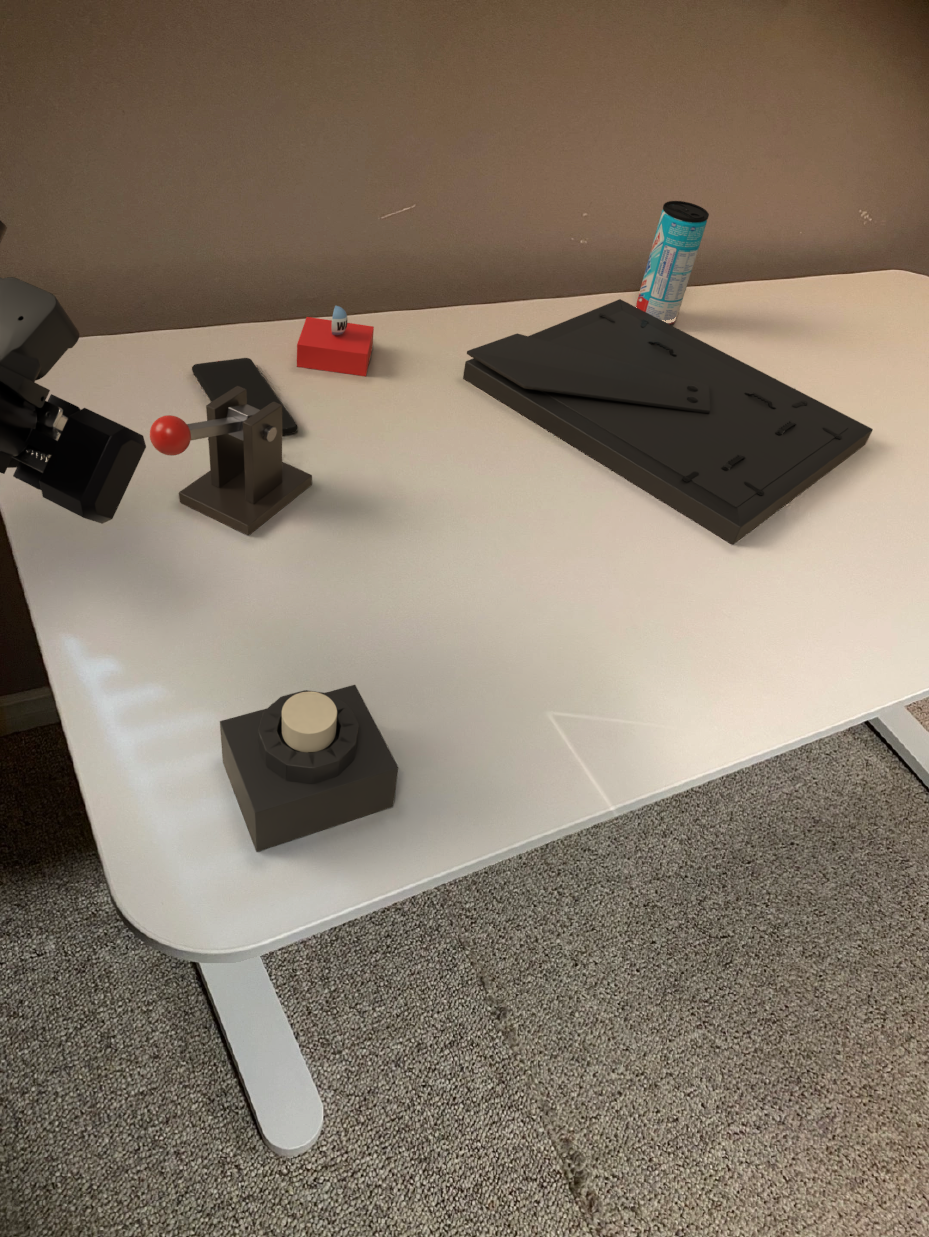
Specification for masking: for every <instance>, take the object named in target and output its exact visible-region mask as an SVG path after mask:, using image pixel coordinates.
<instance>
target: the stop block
mask: <svg viewBox="0 0 929 1237" xmlns="http://www.w3.org/2000/svg"><path fill="white" fill-rule="evenodd" d="M301 692H318V693H321V694H324V695H326V696H327V697H329V698H330V699H331V700H332V701H333V702H334V704H335V706H336V708H337V723H336V735H335V738H334V740H333V741H332V743H331V744H330V745H329V746H328V747H326V748H325V749H323V750H320V751H317V752H311V753H307V752H300V751H297V750H295V749H293V748H291V747H290V746H289V745H288V744H287V743H286V742H285V741H284V739H283V736H282V708H283V706H284V704H285V702H286V701H287V700H288V699H289V698H290V697H292V696H293V695H296V694H298V693H301ZM369 710H370V709H368V706H367V704H366V703H365V701H364V699H363V697H362V695H361V693H360V691H359V690H358V687H357V685H356V684H351V685H348V686H345V687H341V688H337V689H333V690H329V691H326V692H323V691H314V690H308V689H305V690H300V691H296V692H293V693H290V694H285V695H281V696H280V697H278V698H277V699H276V700H275V701H274V702H273V703H271V704H270V705H269V706H268V707H266V708H263V709H260V710H259V709H258V710H256V711H252V712H248V713H244V714H241V715H238V716H237V715H236V716H233V717H230V718H225V719H222V720H220V721H219V729H220V730H219V732H220V743H221V744H220V745H221V756H222V764H223V766H224V770H225V772H226V774H227V777H228V780H229V783H230V786H231V788H232V791H233V793H234V796H235V799H236V801H237V803H238V806H239V809H240V812H241V814H242V818H243V820H244V822H245V826H246V828H247V832H248V833H249V836H250V838H251V841H252V844H253V847H254V850H255V852H256V853H258V852H262V851H265V850H269V849H271V848H274V847H277V846H279V845H283V844H285V843H288V842H289V843H290V842H292V841H294V840H298V839H300V838H303V837H308V836H311V835H312V834H315V833H319V832H321V831H325V830H327V829H331V828H333V827H337V826H340V825H343V824H346V823H348V822H351V821H356V820H358V819H361V818H363V817H367V816H370V815H373V814H376V813H379V812H381V811H385V810H388V809H391V808H394V803H395V796H396V788H397V781H398V774H399V766H398V764H397V762H396V759H394V757H393V754H392V752H391V750H390V749H389V747H388V745H387V743H386V741H385V739H384V737H383V735H382V733H381V731H380V729H379V728H378V725H377V723H376V722H375V720H374V717H373V716H372V714H371V711H369Z"/></svg>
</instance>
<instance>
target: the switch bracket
mask: <svg viewBox="0 0 929 1237" xmlns="http://www.w3.org/2000/svg"><path fill="white" fill-rule="evenodd" d="M240 405H247V398H246V389H244V388H242V387H239V386H237V387H235V388H233V389H232V390H230V391H228V392H227V393H225V394H224V395H222V396H220V397H219V398H217V399H216V400H214V401H212V402H211V401H210V402H209V403H208V404H206V405H205V408H206V410H205V412H206V421H209V420H215V419H221V418H227V412H228V408H229V407H233V406H240ZM207 440H208V452H209V453H208V455H209V470H208V471H207V472H205V473H204V474H203V475H201V476H200V477H199V478H197V479H195V480H194V481H193V482H191V483H190V484H189V485H187V486H186V487H184V488H183V489H181V490H180V491H179V492H178V499H179V503H180V504H182V505H184V506H186V507H188V508H191V509H193V510H195V511H196V512H199V513H201V514H203V515H205V516H207V517H209V518H211V519H213V520H215V521H217V522H219V523H221V524H223V525H225V526H227V527H229V528H232V529H233V530H235V531H238V532H239V533H242V534H243V535H246V536H250V535H251V534H252V533H254V532H255V531H257V530H258V529H259V528H260V527H262V525H264V524H265V523H266V522H268V521H269V520H270V519H271V518H272V517H274V516H275V515H277V514H278V513H279V512H280V511H281V510H283V509H284V508H285V507H286V506H287V505H289V504H290V503H291V502H292V501H294V500H295V499H296V498H298V497H299V496H300V495H301V494H302V493H304V492H305V491H306V490H307V489H309V488H310V487H311V486H312V485H313V475H312V474H310V473H309V472H306V471H304V470H302V469H300V468H297V467H296V466H293V465H291V464H289V463H286V462H285V461H283V435H282V405H280V404H278V403H276V402H272V403H270V404H269V405H267V406H266V407H264V408H263V409H261V410H260V411H258V412H257V413H255V414H254V415H253V416H251V417H250V418H248V419H247V420H245V421H244V422H243V440H244V441H242V440H240V439H238V438H236V437H233V436H231V435H229V434H223V435H218V436H212V437H207Z"/></svg>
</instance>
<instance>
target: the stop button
mask: <svg viewBox="0 0 929 1237" xmlns="http://www.w3.org/2000/svg"><path fill="white" fill-rule="evenodd" d="M318 692H319V691H316V692H301V693H298V694H296V695H293V696H292V697H290V698H289V699H288V700H287V701H286V702H285V704H284V706H283V708H282V736H283V739H284V741H285V742H286V743H287V744H288V745H289V746H290V747H291V748H293V749H295V750H297V751H300V752H307V753H311V752H317V751H320V750H323V749H325V748H326V747H328V746H329V745H330V744H331V743H332V741H333V740H334V738H335V735H336V723H337V708H336V706H335V704H334V702H333V701H332V700H331V699H330V698H329V697H327V696H326V695H324V694H321V693H318Z"/></svg>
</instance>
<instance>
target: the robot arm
mask: <svg viewBox="0 0 929 1237" xmlns="http://www.w3.org/2000/svg"><path fill="white" fill-rule="evenodd" d="M7 230H8V227H7V225H6V224H5V223H4V222H3V221H2V220H0V243H1V242H2V240H3V238H4V236H5V233H6V231H7ZM79 340H80V332H79V329H78V328H77V327H76V325H75V324H74V322H73V321H72V319H71V318H70V316H69V315H68V313H67V312H66V310H65V309H64V307H63V306H62V304H61V303H60V301H59V300H58V298H57V296H55V295H54V294H53V293H52V292H50V291H47V290H45V289H43V288H40V287H38V286H36V285H33V284H32V283H29V282H26V281H24V280H22V279H20V278H17V277H14V276H8V277H3V278H2V277H0V474H3V475H5V473H6V472H7V469H12V468H13V469H14V468H16V469H15V471H14V473H13V475H12V476H13V478H15V479H17V480H19V481H21V482H23V483H25V484H26V485H29V486H31V487H33V488H35V489H37V490H39V491H41V496H42V498H44V499H46V500H48V501H49V502H52V503H53V504H55V505H57V506H59V507H61V508H62V509H65V510H67V511H69V512H71V513H73V514H75V515H77V516H79V517H81V518H83V519H86V520H88V521H91V522H94V523H98V524H105V523H107V522H109V521H112V520H113V519H114V518H115V515H116V513H117V511H118V508H119V507H120V504H121V502H122V500H123V498H124V495H125V494H126V492H127V489H128V487H129V485H130V483H131V481H132V479H133V476H134V473H135V472H136V470H137V467H138V466H139V464H140V461H141V459H142V457H143V455H144V453H145V451H146V448H147V445H146V441H145V437H144V435H143V434H141V433H139V432H137V431H135V430H133V429H131V428H129V427H127V426H125V425H122V424H121V423H119V422H116V421H114V420H112V419H111V418H108V417H106V416H103V415H101V414H100V413H98V412H95V411H93V410H91V409H89V408H87V407H83V408H80V407H79V406H78V405H76V404H74V403H72V402H69V401H67V400H64V399H63V398H61V397H58V396H57V395H55V394H50V392H51V390H50V389H49V388H47V387H45V386H43V385H41V384H39V383H37V382H36V381H39V380H41V379H42V378H44V377H45V376H46V375H48V373H49V372H50V371H51V369H53V367H55V365H56V364H57V362H58V361H59V360H60V359H61V358H62V357H63V356H64V354H66V352H67V351H68V350H69V349H72V348H74V346H75V345H76V344H77V343H78V342H79ZM49 394H50V395H49ZM48 396H49V397H48ZM47 398H48V399H47Z"/></svg>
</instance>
